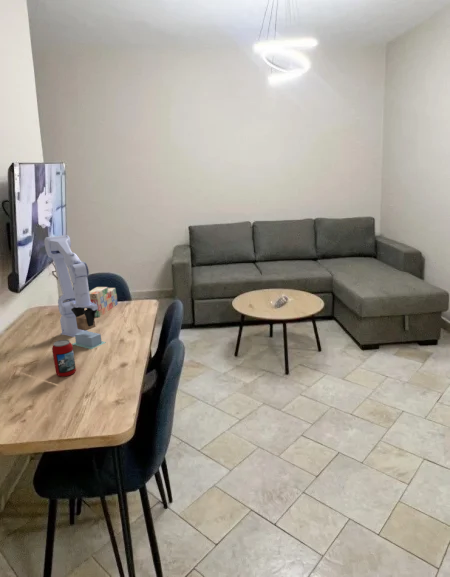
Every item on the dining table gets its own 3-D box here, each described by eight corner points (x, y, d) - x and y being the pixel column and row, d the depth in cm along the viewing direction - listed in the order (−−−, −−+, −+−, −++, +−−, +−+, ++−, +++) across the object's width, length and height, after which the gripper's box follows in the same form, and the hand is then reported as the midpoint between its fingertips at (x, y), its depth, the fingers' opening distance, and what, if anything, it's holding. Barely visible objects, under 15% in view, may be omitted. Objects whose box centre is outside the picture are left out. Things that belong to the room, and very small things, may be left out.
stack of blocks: (107, 304, 238) (104, 282, 235) (117, 304, 237) (115, 282, 233) (88, 316, 218) (84, 293, 214) (99, 317, 216) (96, 293, 213)
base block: (76, 343, 182) (74, 334, 180) (85, 339, 186) (84, 330, 184) (92, 347, 176) (91, 338, 175) (101, 343, 180) (100, 334, 179)
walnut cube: (77, 328, 178) (75, 317, 177) (87, 325, 182) (85, 313, 181) (85, 330, 176) (84, 319, 174) (95, 326, 180) (93, 315, 178)
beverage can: (64, 379, 150) (59, 347, 147) (52, 375, 154) (47, 344, 150) (80, 372, 155) (75, 340, 152) (68, 368, 159) (63, 337, 156)
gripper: (61, 293, 176) (66, 325, 179) (85, 297, 168) (90, 330, 172) (76, 289, 181) (80, 319, 185) (100, 292, 174) (104, 324, 177)
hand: (86, 324), depth 179 cm, fingers closed on walnut cube, 5 cm apart
